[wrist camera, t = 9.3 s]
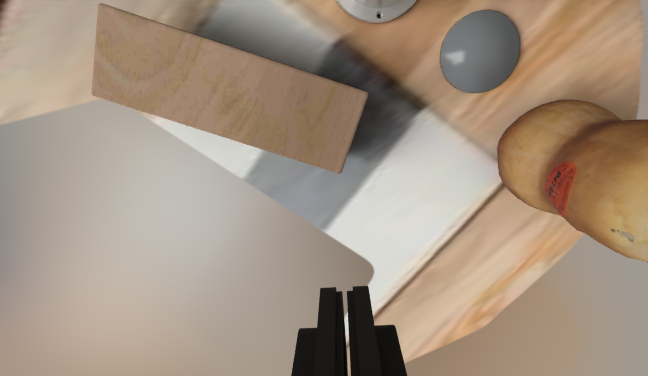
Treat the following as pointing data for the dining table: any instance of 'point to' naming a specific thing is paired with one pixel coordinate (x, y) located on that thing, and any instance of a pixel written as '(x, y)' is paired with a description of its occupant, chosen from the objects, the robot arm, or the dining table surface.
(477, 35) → the grey dome
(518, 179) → the butternut squash
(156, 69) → the decorative block
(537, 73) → the dining table surface
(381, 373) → the robot arm
